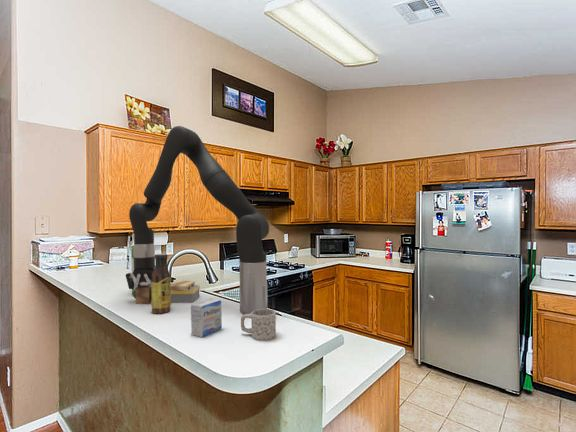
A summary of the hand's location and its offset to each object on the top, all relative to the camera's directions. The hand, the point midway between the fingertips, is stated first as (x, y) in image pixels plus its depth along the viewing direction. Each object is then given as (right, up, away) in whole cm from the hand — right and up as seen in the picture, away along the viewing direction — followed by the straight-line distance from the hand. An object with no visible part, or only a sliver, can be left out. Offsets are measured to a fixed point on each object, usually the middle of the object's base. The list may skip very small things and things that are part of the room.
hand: (145, 299), depth 131 cm
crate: (0, -1, 0) cm, 1 cm away
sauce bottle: (+11, -1, -12) cm, 16 cm away
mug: (+46, -1, -36) cm, 59 cm away
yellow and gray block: (+13, -1, +4) cm, 13 cm away
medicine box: (+31, -1, -33) cm, 45 cm away
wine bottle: (-7, -1, +13) cm, 15 cm away
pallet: (+13, +4, +4) cm, 14 cm away
